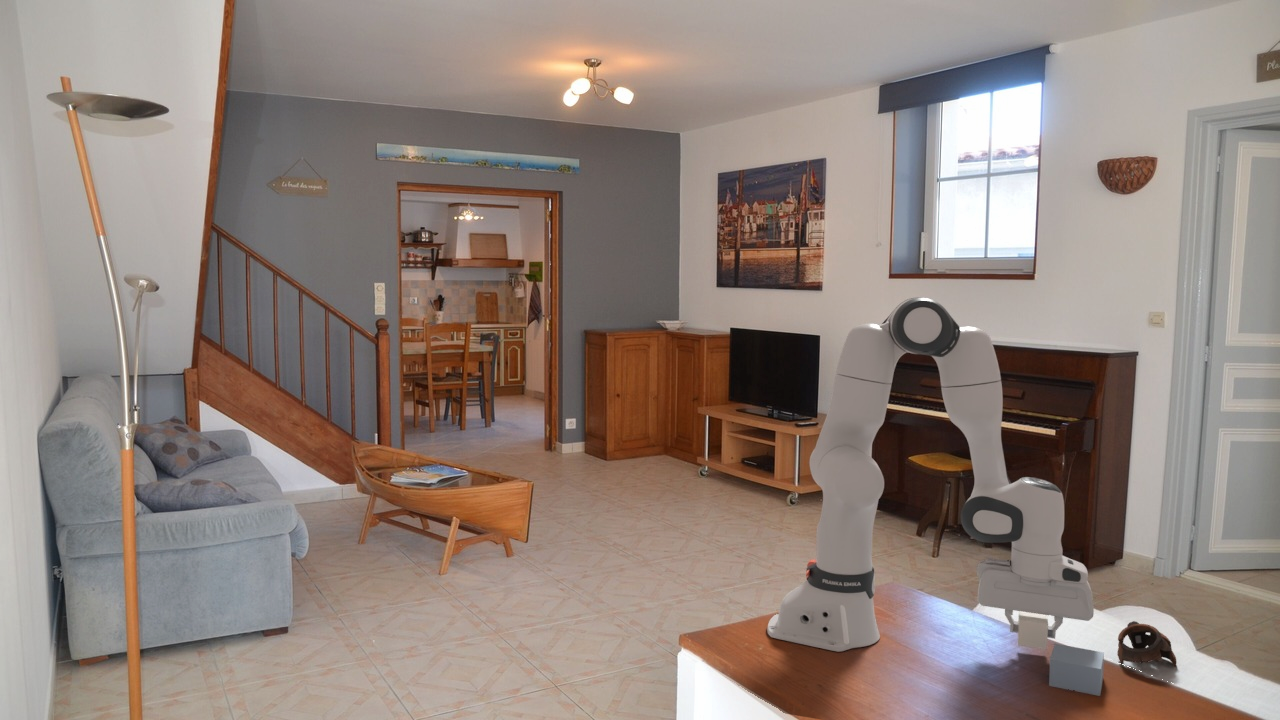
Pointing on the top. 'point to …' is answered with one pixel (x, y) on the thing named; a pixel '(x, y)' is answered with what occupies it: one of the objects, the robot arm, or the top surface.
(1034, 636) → the cream cube
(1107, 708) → the top surface
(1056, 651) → the slate block
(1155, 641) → the brown hollow ring shell
